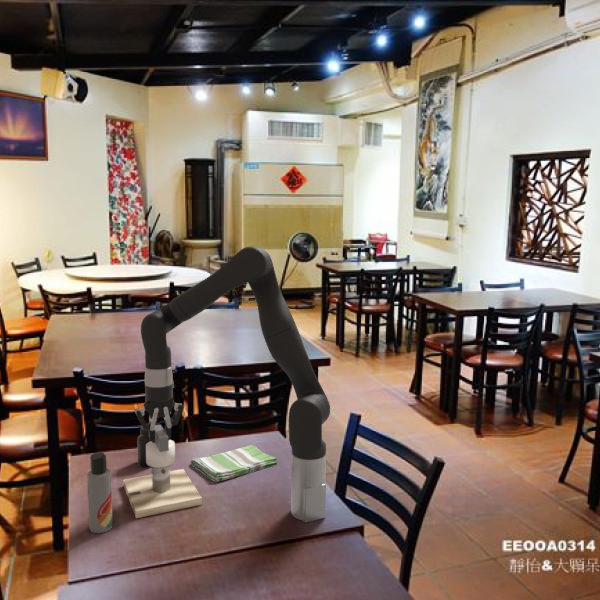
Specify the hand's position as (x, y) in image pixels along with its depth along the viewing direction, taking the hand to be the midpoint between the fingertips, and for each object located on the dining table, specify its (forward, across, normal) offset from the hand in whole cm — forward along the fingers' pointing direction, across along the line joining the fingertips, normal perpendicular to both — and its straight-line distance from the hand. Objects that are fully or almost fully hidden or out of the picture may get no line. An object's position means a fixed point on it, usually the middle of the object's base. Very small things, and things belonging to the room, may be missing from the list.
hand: (160, 440), depth 167 cm
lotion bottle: (+17, -18, -11) cm, 27 cm away
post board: (+16, 0, 0) cm, 16 cm away
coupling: (+6, 0, 0) cm, 6 cm away
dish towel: (+17, +26, +11) cm, 33 cm away
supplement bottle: (+17, +1, +23) cm, 28 cm away
